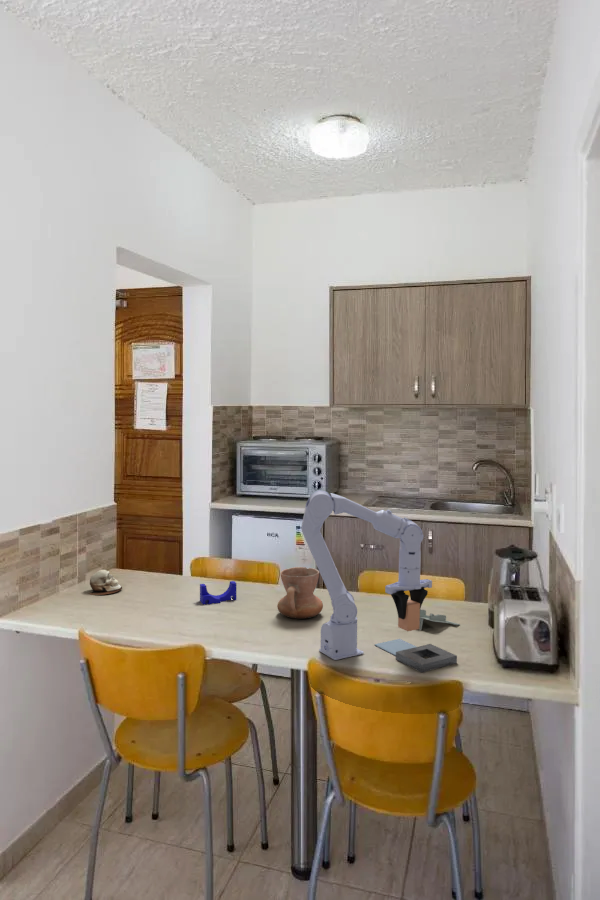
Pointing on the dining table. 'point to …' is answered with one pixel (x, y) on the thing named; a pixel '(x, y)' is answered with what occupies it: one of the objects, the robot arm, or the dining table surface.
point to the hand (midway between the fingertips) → (408, 616)
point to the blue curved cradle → (210, 599)
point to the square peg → (410, 617)
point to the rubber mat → (395, 646)
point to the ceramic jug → (300, 593)
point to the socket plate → (434, 661)
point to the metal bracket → (433, 618)
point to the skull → (103, 583)
